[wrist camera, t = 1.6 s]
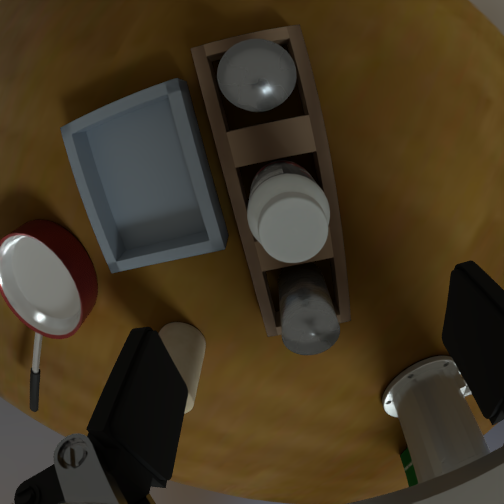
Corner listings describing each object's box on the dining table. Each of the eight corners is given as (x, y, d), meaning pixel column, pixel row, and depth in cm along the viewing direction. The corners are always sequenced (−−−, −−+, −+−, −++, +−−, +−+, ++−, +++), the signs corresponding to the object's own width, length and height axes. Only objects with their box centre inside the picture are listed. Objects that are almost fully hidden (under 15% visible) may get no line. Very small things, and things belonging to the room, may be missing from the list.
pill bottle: (326, 192, 26) (358, 235, 17) (280, 231, 28) (288, 291, 19) (284, 145, 24) (297, 164, 16) (237, 188, 26) (224, 230, 17)
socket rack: (296, 32, 20) (299, 24, 18) (345, 305, 31) (350, 320, 29) (197, 54, 21) (190, 48, 19) (267, 321, 32) (267, 336, 30)
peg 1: (278, 56, 21) (286, 32, 14) (291, 106, 23) (304, 102, 16) (225, 68, 22) (209, 49, 15) (237, 117, 24) (227, 119, 16)
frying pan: (92, 407, 42) (80, 436, 36) (29, 375, 40) (13, 400, 34) (107, 241, 29) (76, 272, 23) (15, 202, 27) (-21, 222, 21)
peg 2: (319, 255, 29) (337, 305, 21) (325, 294, 30) (341, 348, 23) (273, 264, 29) (276, 317, 22) (282, 303, 31) (287, 359, 24)
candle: (161, 315, 32) (132, 383, 23) (210, 329, 33) (195, 401, 24) (156, 350, 34) (132, 416, 25) (201, 362, 35) (187, 431, 26)
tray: (186, 81, 22) (177, 77, 20) (228, 235, 28) (225, 249, 25) (77, 124, 24) (60, 127, 21) (123, 258, 29) (111, 273, 27)
